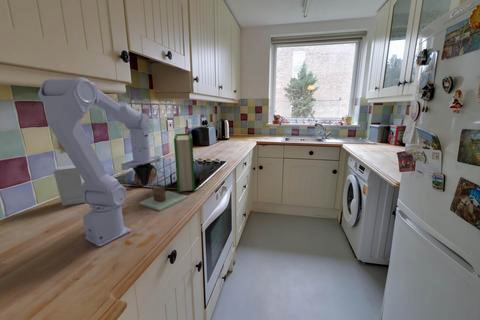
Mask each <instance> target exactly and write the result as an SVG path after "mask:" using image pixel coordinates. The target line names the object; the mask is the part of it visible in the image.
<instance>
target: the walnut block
mask: <svg viewBox="0 0 480 320" xmlns="http://www.w3.org/2000/svg"><path fill="white" fill-rule="evenodd" d="M165 192H166V188H165V185H163V184H158V183H157V184H155V185H152V194H153V195H152V197H154V201H157V202H163V201H165V200H166V197H165Z"/></svg>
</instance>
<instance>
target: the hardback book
mask: <svg viewBox="0 0 480 320" xmlns="http://www.w3.org/2000/svg"><path fill="white" fill-rule="evenodd" d="M173 143H174V144H173V145H174V158H175V159H174V160H175V173H176V183H177V184H176V185H177V193H178V194H181V192H188V191H190V192H191V191H192V192H193V193H196V184H195V162H194V147H193V144H194V143H193V136H192V133H176V134H175V135H174V138H173Z"/></svg>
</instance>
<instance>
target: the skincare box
mask: <svg viewBox="0 0 480 320" xmlns="http://www.w3.org/2000/svg"><path fill="white" fill-rule="evenodd" d="M53 175H54V178H55V182H56V187H57V189H58V190H57V191H58V194H59V198H60V201H61V206H62V207H65V206H70V205H77V204H78V205H79V204H87V203H86V202H85V201H84V198H83V192H82V190H81V189H80V187H81V186H82V184H83V183H84V180H83V178H82V177H81V175H80V174H79V172H78V170H77V169H76V167H75V166H74V164H72V165H70V164H69V165H63V166H62V165H61V166H57V167H56V168H54V170H53Z"/></svg>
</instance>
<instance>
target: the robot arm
mask: <svg viewBox="0 0 480 320" xmlns="http://www.w3.org/2000/svg"><path fill="white" fill-rule="evenodd" d="M37 95H38V98H39V99H40V101H41V103H42V104H43V106H44V110H45V117H46V122H47V124H48V125H49V128H50V129H51V132H52V133H53V134H54V135H55V137H56V139H57V140H58V141H59V144H60V145H61V146H62V148H63V150H64V151H65V153H66V155H67V156H68V158H69V160H70V161H71V163H72V165H74V166H75V167H76V169H77V170H78V172H79V174H80V175H81V177H82V178H83V180H84V183H83V184H82V186H81V187H80V189H81V190H82V192H83V198H84V201H85V202H86V203H85V204H87V205H89V209H91V210H90V211H88V212H87V213H84V214H83V216H82V223H83V227H84V234H85V237H84V238H85V240H87V241H89V242H90V243H92V244H94V245H96V246H97V247H102V246H104V245H106V244H108V243H110V242H112V241H114V240H117V239H118V238H120V237H122V236H124V235H126V234H128V233H131V231H132V230H131V229H130V228H128V227H126V226H125V223H124V216H123V209H122V208H123V207H122V206H123V205H124V202H125V201H126V198H127V189H126V188H125V186H124V185H123V184H121V183H120V182H119V180H118V179H117V178H116V177H113V176H111V175H110V174H108V173H107V170H106V169H105V167H104V165H103V163H102V162H101V159H100V158H99V156H98V154H97V153H96V151H95V148H94V146H93V145H92V143H91V141H90V140H89V138H88V136H87V134H86V131H85V130H84V128H83V126H82V124H81V120H82V119H83V118H84V117H85V116H86V115H87V113H88V112H89V110H90V109H91V108H92V107H93V106H94V107H98V108H99V109H101V110H104V111H105V112H108V113H110V116H111V118H112V119H113V120H116V121H118V122H120V123H121V124H124V126H125V128H126V129H127V130H129V136H130V143H131V153H132V159H131V160H130V161H127V162H124V163H121V164H120V166H121V170H123V171H128V170H129V169H133V171H134V173H135V172H136V174H137V175H138V177H139V179H140V182H141V184H142V185H145V186H147V185H149V183H148V181H149V176H150V173H151V170H152V168H153V165H154V164H155V163H157V162H158V163H159V162H160V163H161V162H162V158H161V156H159V155H156V156H155V155H154V156H151V152H150V151H151V150H150V141H149V134H150V132H151V131H150V127H151V123H152V122H151V120H150V116H149V115H147V114H146V113H144V112H139V111H138V110H137V109H136V108H133V107H131V106H130V105H129V103H128V102H127V101H118V102H116V100H113V99H112V98H111V97H110V96H108V95H107V94H105V93H104V92H103V91H102V90H100V89H99V88H98V85H97V84H96V83H95V82H91V80H89V79H87V78H86V77H80V76H79V77H77V78H57V79H56V78H47V79H45V80H43V82H42V83H41V85H40V88H39V90H38V92H37ZM142 185H141V186H142Z"/></svg>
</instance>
